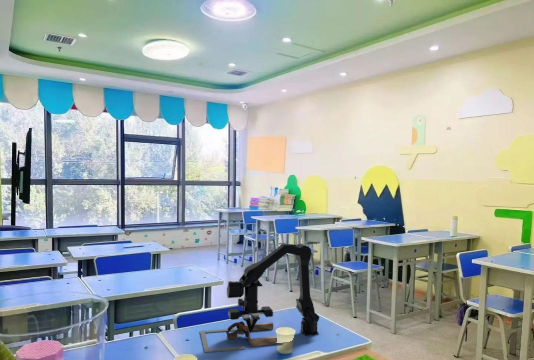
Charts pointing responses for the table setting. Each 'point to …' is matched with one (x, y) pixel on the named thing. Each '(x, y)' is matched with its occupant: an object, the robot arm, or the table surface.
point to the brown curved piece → (238, 331)
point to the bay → (207, 350)
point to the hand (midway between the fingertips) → (250, 332)
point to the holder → (266, 339)
